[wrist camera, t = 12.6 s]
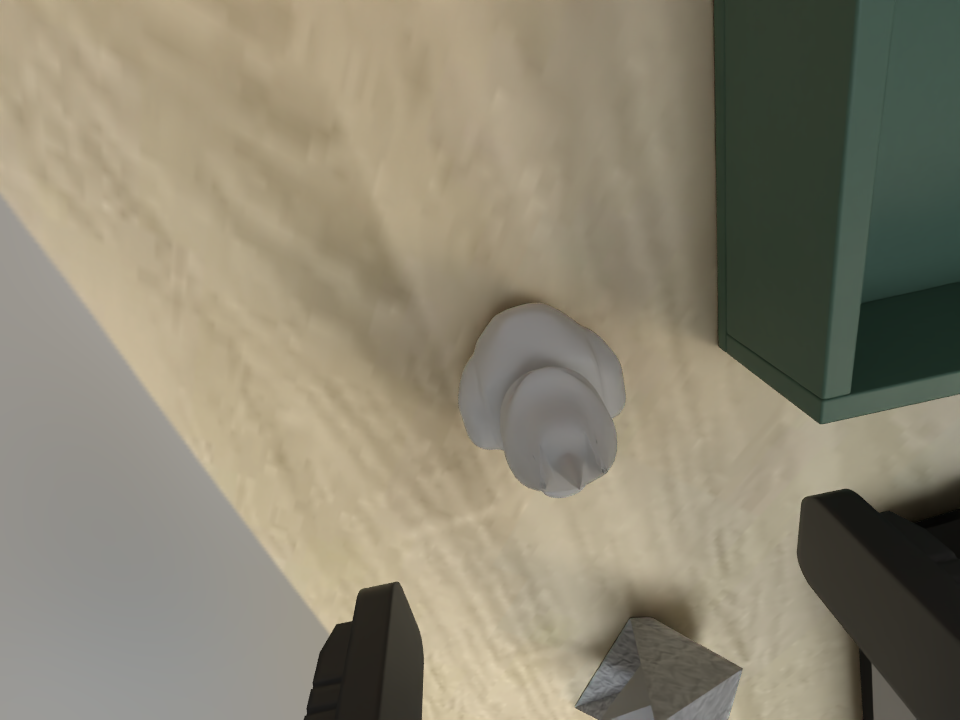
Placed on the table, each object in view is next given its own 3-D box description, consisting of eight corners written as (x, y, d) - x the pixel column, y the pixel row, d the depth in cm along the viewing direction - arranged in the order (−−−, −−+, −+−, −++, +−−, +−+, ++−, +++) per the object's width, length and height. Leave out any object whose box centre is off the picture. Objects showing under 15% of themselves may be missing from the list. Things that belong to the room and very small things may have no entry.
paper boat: (703, 732, 27) (553, 812, 25) (643, 610, 30) (505, 671, 28) (855, 755, 17) (628, 892, 15) (742, 570, 21) (542, 660, 18)
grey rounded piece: (586, 267, 17) (692, 365, 10) (613, 423, 20) (712, 590, 13) (436, 309, 17) (431, 434, 10) (483, 457, 20) (506, 640, 13)
